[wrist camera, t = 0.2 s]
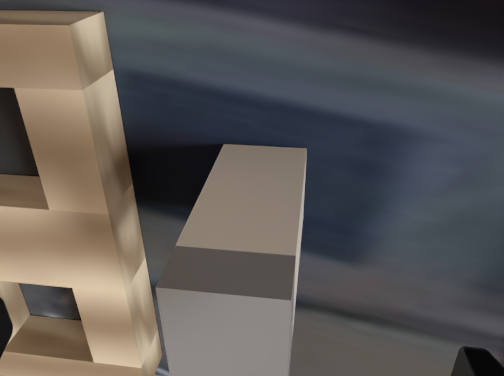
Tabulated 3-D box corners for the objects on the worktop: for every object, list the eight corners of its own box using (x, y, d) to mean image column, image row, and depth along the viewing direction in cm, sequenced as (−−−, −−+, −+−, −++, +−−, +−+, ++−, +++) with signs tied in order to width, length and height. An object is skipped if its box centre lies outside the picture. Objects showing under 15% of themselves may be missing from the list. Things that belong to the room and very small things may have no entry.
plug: (303, 218, 23) (287, 389, 15) (227, 212, 24) (170, 375, 15) (306, 148, 21) (291, 300, 13) (223, 144, 22) (155, 287, 13)
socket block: (162, 355, 31) (145, 397, 28) (0, 335, 32) (-30, 374, 29) (103, 11, 19) (65, 26, 17) (-140, 8, 21) (-211, 21, 18)
